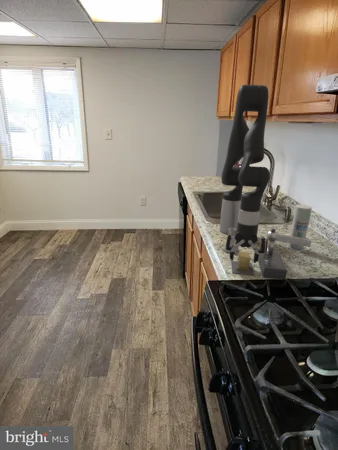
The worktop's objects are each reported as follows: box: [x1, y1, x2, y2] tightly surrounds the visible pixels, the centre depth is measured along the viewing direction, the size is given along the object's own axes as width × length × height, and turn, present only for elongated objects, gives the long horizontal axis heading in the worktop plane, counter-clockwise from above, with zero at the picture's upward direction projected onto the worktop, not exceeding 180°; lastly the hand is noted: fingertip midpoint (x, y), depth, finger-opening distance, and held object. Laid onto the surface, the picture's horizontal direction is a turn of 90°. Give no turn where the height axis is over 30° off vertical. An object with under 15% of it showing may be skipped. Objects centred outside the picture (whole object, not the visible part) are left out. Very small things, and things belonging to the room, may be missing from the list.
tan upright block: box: [237, 251, 251, 271], centre depth 116 cm, size 5×4×6 cm
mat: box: [230, 260, 255, 276], centre depth 117 cm, size 10×8×1 cm
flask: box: [221, 228, 239, 254], centre depth 131 cm, size 7×7×10 cm
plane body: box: [257, 238, 288, 281], centre depth 116 cm, size 18×8×10 cm, turn 171°
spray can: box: [288, 204, 313, 252], centre depth 134 cm, size 6×6×20 cm
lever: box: [267, 228, 312, 248], centre depth 116 cm, size 16×4×4 cm, turn 63°
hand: (243, 261), depth 116 cm, fingers open, 8 cm apart
